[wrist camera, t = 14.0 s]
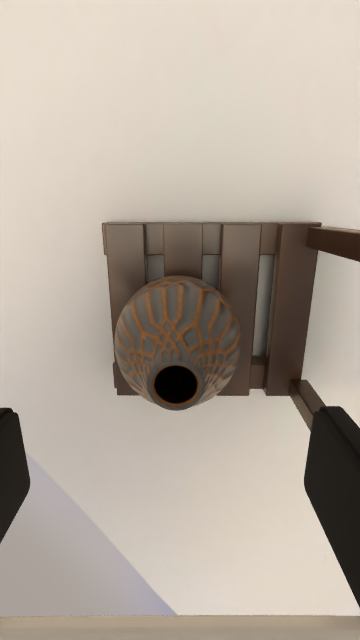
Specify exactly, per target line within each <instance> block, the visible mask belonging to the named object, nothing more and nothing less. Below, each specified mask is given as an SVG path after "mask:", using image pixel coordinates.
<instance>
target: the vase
mask: <svg viewBox="0 0 360 640" xmlns="http://www.w3.org/2000/svg"><path fill="white" fill-rule="evenodd" d="M240 351H241V331H240V326H239V322H238V320H237V317H236V314H235V312H234V310H233V308H232V307H231V305H230V304H229V302H228V301H227V299H226V298H225V297H224V296H223V295H222V294H221V293H220V292H219V291H218V290H217V289H216V288H214V287H213V286H212V285H210V284H208V283H206V282H204V281H202V280H200V279H197V278H194V277H189V276H167V277H163V278H159V279H156V280H154V281H152V282H150V283H148V284H146V285H145V286H143V287H142V288H141V289H139V290H138V291H137V292H136V293H135V294H134V295H133V296H132V297H131V298H130V300H129V301H128V302H127V304H126V305H125V307H124V308H123V310H122V312H121V314H120V317H119V319H118V322H117V326H116V331H115V353H116V358H117V362H118V365H119V368H120V370H121V373H122V374H123V376H124V378H125V380H126V381H127V383H128V384H129V385H130V386H131V387H132V389H133V390H134V391H135V392H137V393H138V394H139V395H140V396H142V397H143V398H145V399H146V400H148V401H150V402H152V403H154V404H157V405H159V406H161V407H163V408H165V409H168V410H184V409H187V408H190V407H192V406H195V405H198V404H201V403H203V402H205V401H207V400H209V399H211V398H212V397H214V396H215V395H216V394H218V393H219V392H220V391H221V390H222V389H223V388H224V387H225V385H226V384H227V383H228V382H229V380H230V379H231V377H232V375H233V373H234V371H235V369H236V367H237V364H238V360H239V356H240Z"/></svg>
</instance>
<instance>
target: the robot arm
mask: <svg viewBox="0 0 360 640" xmlns="http://www.w3.org/2000/svg"><path fill="white" fill-rule="evenodd" d="M304 486H305V490H306V493H307V495H308V497H309V499H310V501H311V504H312V506H313V508H314V510H315V512H316V514H317V517H318V519H319V521H320V523H321V525H322V527H323V529H324V532H325V534H326V536H327V538H328V540H329V542H330V545H331V547H332V549H333V551H334V553H335V555H336V558H337V560H338V562H339V564H340V566H341V568H342V571H343V573H344V575H345V577H346V579H347V581H348V583H349V586H350V588H351V590H352V592H353V594H354V596H355V599H356V601H357V603H358V605H359V607H360V428H359V427H358V426H357V425H356V423H355V422H354V421H353V420H352V419H351V418H350V416H349V415H348V414H347V413H346V412H345V411H344V409H343V408H342V407H339V406H322V407H320V409H319V411H315V412H314V414H313V420H312V427H311V434H310V441H309V448H308V455H307V462H306V469H305V476H304ZM29 488H30V476H29V471H28V466H27V460H26V455H25V449H24V444H23V438H22V433H21V427H20V422H19V417H18V414H17V413H16V412H13V410H12V409H11V408H0V543H1V541H2V539H3V537H4V536H5V534H6V532H7V530H8V528H9V527H10V525H11V523H12V521H13V519H14V517H15V516H16V513H17V512H18V510H19V508H20V506H21V505H22V503H23V501H24V499H25V497H26V495H27V493H28V491H29ZM0 640H360V616H333V615H167V616H165V615H164V616H163V615H161V616H160V615H159V616H158V615H156V616H155V615H148V616H37V617H35V616H33V617H0Z"/></svg>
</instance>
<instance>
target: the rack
mask: <svg viewBox="0 0 360 640" xmlns="http://www.w3.org/2000/svg"><path fill="white" fill-rule="evenodd" d="M321 225H322V223H319V222H107V223H102V232H103V245H104V255H107V265H108V278H109V291H110V304H111V318H112V331H113V344H114V358H115V361H114V363H113V374H114V387H115V388H117V395H139V394H138V393H137V392H135V391H134V390H133V389H132V387H131V386H130V385H129V384H128V383H127V381H126V380H125V378H124V376H123V374H122V373H121V370H120V368H119V365H118V362H117V358H116V353H115V331H116V326H117V322H118V319H119V317H120V314H121V312H122V310H123V308H124V307H125V305H126V304H127V302H128V301H129V300H130V298H131V297H132V296H133V295H134V294H135V293H136V292H137V291H138V290H139V289H141V288H142V287H143V286H145V285H146V284H147V256H146V255H164V277H167V276H189V277H194V278H197V279H200V280H202V255H220V266H219V292H220V293H221V294H222V295H223V296H224V297H225V298H226V299H227V301H228V302H229V304H230V305H231V307H232V308H233V310H234V312H235V314H236V317H237V320H238V322H239V326H240V331H241V351H240V356H239V360H238V364H237V367H236V369H235V371H234V373H233V375H232V377H231V379H230V380H229V382H228V383H227V384H226V385H225V387H224V388H223V389H222V390H221V391H220V392H219V393H218V394H216V395H217V396H249V389H263V390H264V392H265V394H266V396H290V397H291V398H292V400H293V402H294V404H295V405H296V407H297V409H298V410H299V412H300V414H301V416H302V417H303V419H304V421H305V423H306V424H307V426H308V428H309V430H310V431H311V427H312V420H313V414H314V412H315V411H319V409H320V407H322V406H326V405H325V404H324V402H323V401H322V400H321V398H320V397H319V396H318V394H317V393H316V392H315V390H314V389H313V387H312V386H311V385H310V383H309V382H308V381H307V380H301V375H302V367H303V360H304V352H305V345H306V337H307V330H308V322H309V315H310V307H311V300H312V292H313V285H314V277H315V270H316V262H317V255H318V250H320V251H323V252H327V253H330V254H334V255H337V256H341V257H344V258H348V259H351V260H355V261H358V262H360V230H355V229H345V228H335V227H321ZM260 255H275V263H274V274H273V285H272V296H271V307H270V318H269V329H268V339H267V350H266V357H252V350H253V337H254V324H255V311H256V298H257V285H258V271H259V258H260Z"/></svg>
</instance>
